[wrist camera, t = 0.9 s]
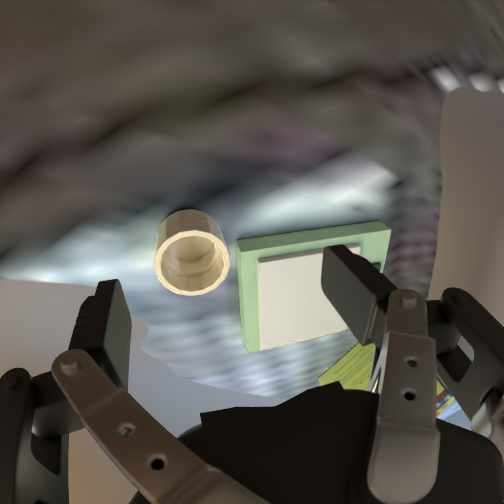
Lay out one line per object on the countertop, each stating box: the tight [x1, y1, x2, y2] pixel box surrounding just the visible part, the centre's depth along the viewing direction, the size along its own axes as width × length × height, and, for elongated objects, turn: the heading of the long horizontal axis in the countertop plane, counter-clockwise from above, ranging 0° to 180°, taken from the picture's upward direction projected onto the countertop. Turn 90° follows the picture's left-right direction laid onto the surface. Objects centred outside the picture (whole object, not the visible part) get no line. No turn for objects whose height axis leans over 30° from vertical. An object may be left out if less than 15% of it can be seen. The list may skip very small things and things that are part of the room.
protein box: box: [318, 343, 455, 416], centre depth 41 cm, size 10×15×16 cm
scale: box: [236, 221, 391, 353], centre depth 35 cm, size 14×17×3 cm
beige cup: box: [154, 209, 230, 296], centre depth 27 cm, size 6×6×5 cm
